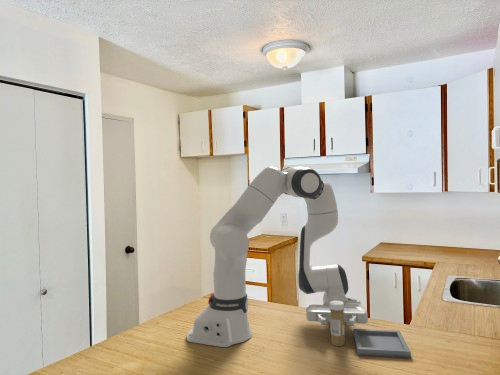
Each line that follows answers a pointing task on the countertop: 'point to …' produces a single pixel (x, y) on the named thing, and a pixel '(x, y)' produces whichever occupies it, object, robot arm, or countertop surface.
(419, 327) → the countertop surface
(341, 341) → the sprinkles bottle
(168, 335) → the countertop surface
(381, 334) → the tray
